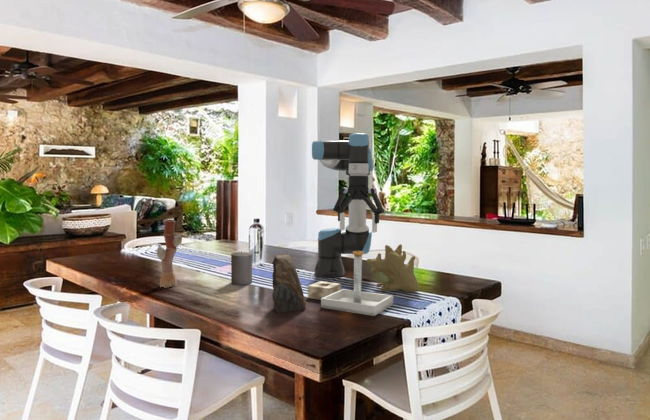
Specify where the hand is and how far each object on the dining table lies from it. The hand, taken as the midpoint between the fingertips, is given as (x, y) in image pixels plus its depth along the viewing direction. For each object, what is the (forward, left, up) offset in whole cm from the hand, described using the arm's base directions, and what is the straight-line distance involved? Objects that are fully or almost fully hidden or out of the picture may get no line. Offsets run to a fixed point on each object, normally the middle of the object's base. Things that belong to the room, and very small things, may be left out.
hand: (358, 231), depth 184 cm
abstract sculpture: (-87, -13, -29) cm, 93 cm away
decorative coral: (+1, +34, -29) cm, 45 cm away
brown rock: (-21, -16, -29) cm, 39 cm away
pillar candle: (-64, +9, -29) cm, 71 cm away
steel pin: (0, 0, -28) cm, 28 cm away
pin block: (-18, +6, -29) cm, 34 cm away
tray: (0, 0, -29) cm, 29 cm away
